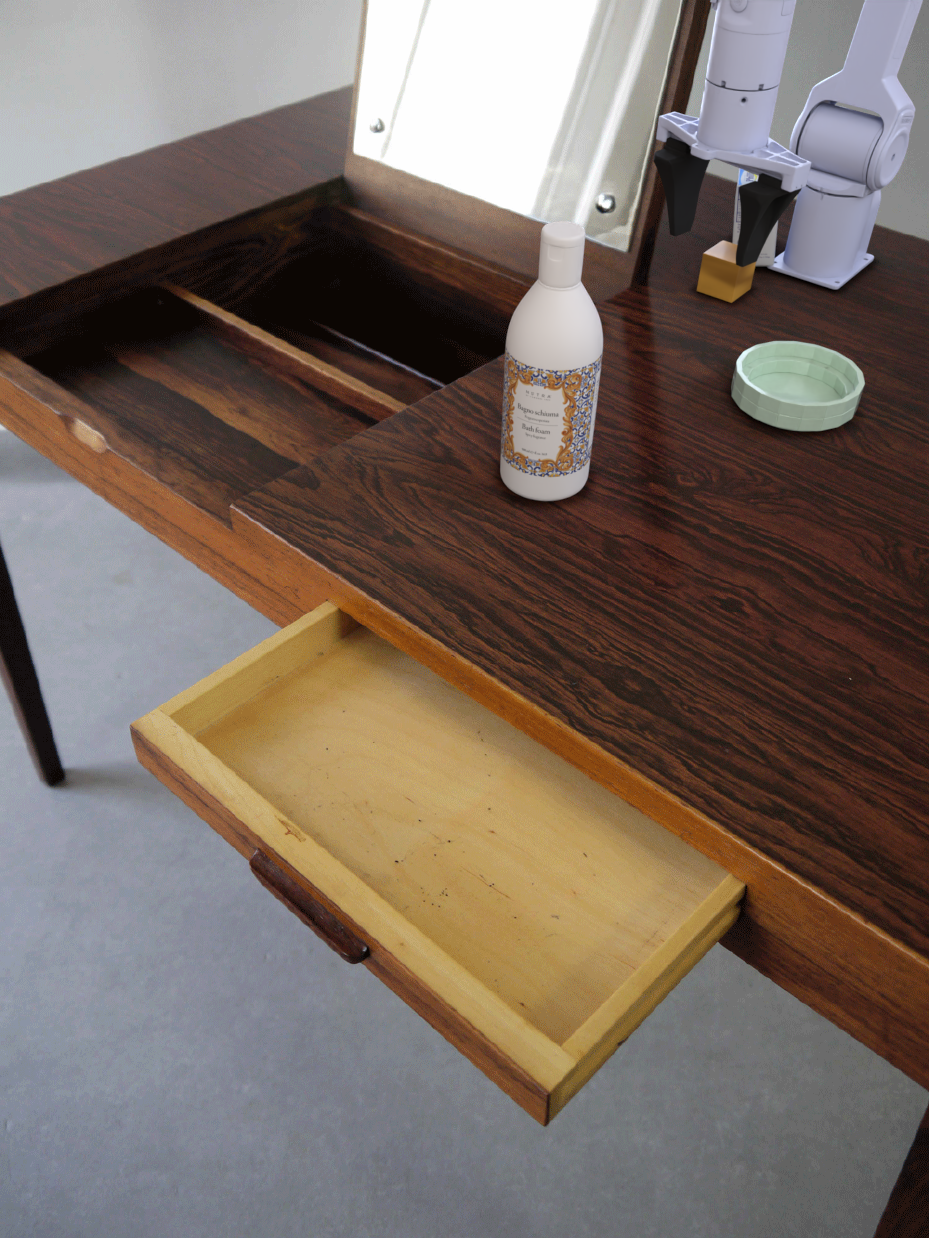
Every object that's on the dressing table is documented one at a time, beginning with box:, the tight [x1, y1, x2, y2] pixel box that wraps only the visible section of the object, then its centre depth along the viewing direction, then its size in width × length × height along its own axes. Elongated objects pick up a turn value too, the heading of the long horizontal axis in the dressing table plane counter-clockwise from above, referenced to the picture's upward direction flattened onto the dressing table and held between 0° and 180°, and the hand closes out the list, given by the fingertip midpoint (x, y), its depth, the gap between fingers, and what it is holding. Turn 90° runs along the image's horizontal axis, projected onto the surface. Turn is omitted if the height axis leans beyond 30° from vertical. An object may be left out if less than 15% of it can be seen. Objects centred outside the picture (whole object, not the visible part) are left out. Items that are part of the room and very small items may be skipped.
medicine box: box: [731, 168, 779, 267], centre depth 110 cm, size 8×4×9 cm, turn 167°
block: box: [696, 240, 756, 304], centre depth 106 cm, size 4×4×4 cm
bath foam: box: [499, 220, 604, 502], centre depth 76 cm, size 7×7×20 cm
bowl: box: [730, 340, 866, 432], centre depth 91 cm, size 11×11×3 cm
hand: (712, 247), depth 92 cm, fingers open, 7 cm apart
